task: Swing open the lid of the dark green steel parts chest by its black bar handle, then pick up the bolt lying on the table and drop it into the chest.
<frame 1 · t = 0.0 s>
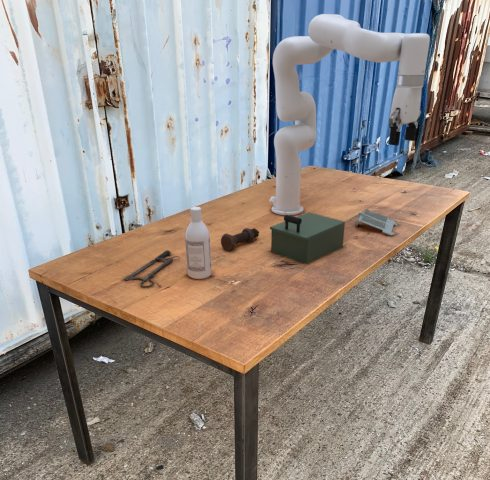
hand: (401, 142, 157), 31 cm above the table, tool pointing down, fingers open, 9 cm apart
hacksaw: (158, 270, 152), on the table
chest lid: (308, 218, 159), point 10 cm above the table, hinge at 0.0°
parts chest: (307, 249, 164), on the table
bath foam: (199, 275, 148), on the table
bolt: (242, 244, 169), on the table
metal bracket: (374, 228, 182), on the table
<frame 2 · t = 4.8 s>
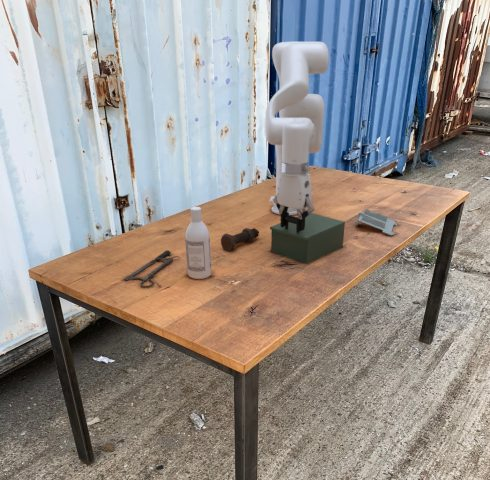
hand: (292, 227, 154), 9 cm above the table, tool pointing down, fingers closed on chest lid, 5 cm apart
chest lid: (308, 218, 159), point 10 cm above the table, hinge at 0.0°, touching gripper
everything else where it was.
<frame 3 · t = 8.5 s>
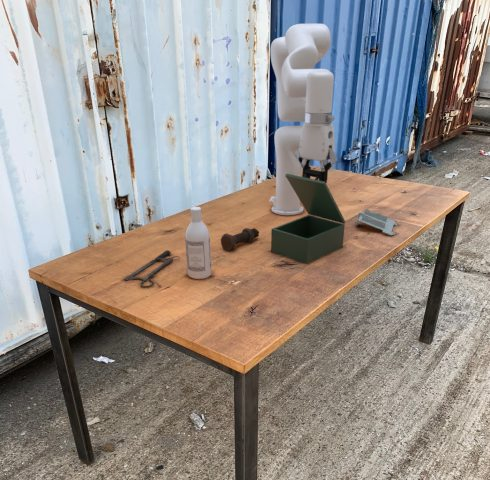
hand: (314, 181, 154), 22 cm above the table, tool pointing down, fingers closed on chest lid, 5 cm apart
chest lid: (319, 193, 158), point 17 cm above the table, hinge at 50.1°, touching gripper
everything else where it was.
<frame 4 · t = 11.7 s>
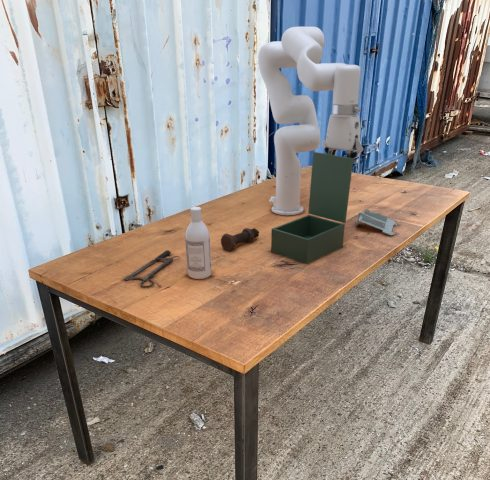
hand: (340, 170, 162), 23 cm above the table, tool pointing down, fingers closed on chest lid, 5 cm apart
chest lid: (333, 186, 163), point 18 cm above the table, hinge at 92.9°, touching gripper
everything else where it was.
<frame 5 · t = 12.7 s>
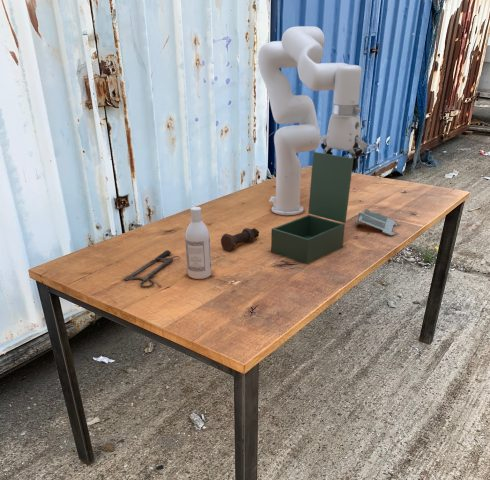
hand: (340, 167, 162), 23 cm above the table, tool pointing down, fingers open, 9 cm apart
chest lid: (333, 186, 163), point 18 cm above the table, hinge at 93.0°
everything else where it was.
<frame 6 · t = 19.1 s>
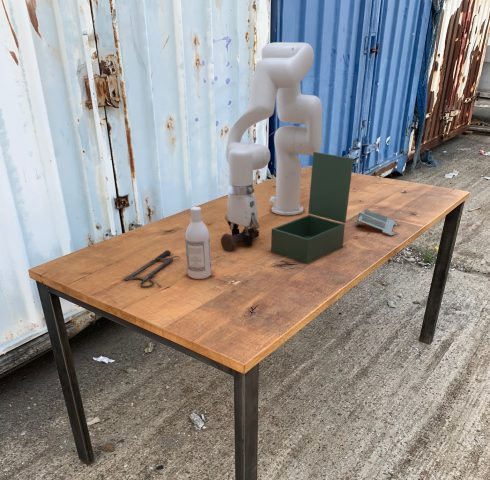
hand: (242, 242, 169), 0 cm above the table, tool pointing down, fingers closed on bolt, 5 cm apart
bolt: (242, 244, 169), on the table, touching gripper
everything else where it was.
when the fingers open (5 cm above the table, at t = 26.5 s): bolt drops 3 cm, resting on parts chest.
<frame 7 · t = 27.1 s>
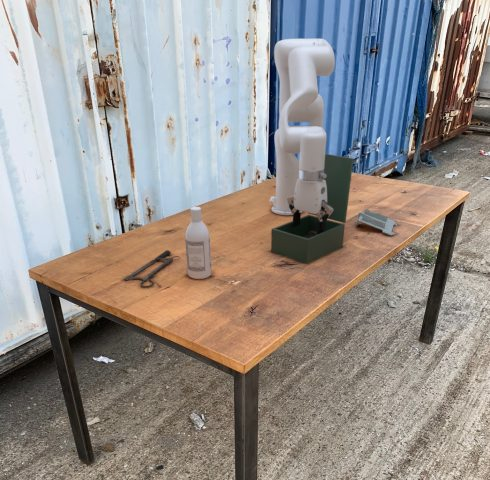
hand: (308, 229, 161), 7 cm above the table, tool pointing down, fingers open, 9 cm apart
bolt: (307, 247, 164), point 1 cm above the table, touching parts chest
everything else where it was.
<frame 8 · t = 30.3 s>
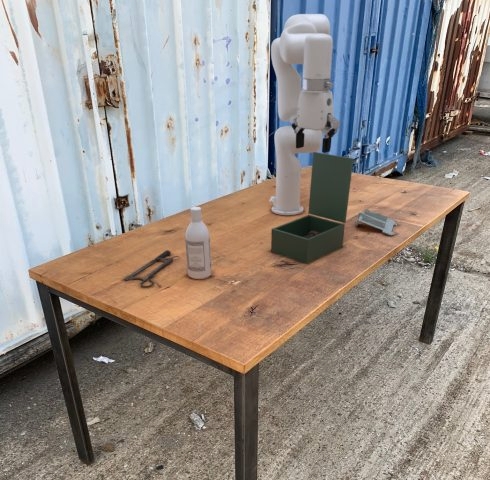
hand: (312, 149, 148), 31 cm above the table, tool pointing down, fingers open, 9 cm apart
nothing on the table moved.
at the end: chest lid at +93° (first picture: +0°); bolt inside the target area in the parts chest (0.2 cm from its centre), point 0.6 cm above the parts chest's base; the gripper is holding nothing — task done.
